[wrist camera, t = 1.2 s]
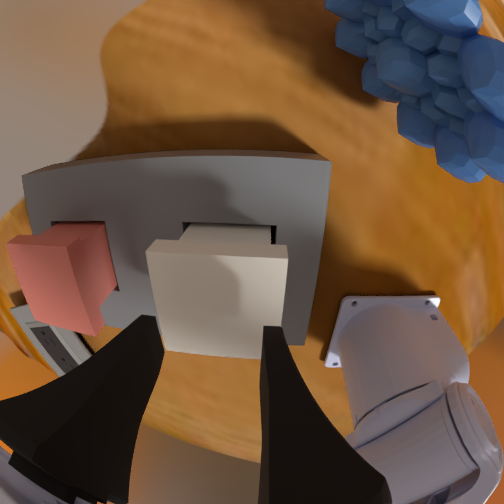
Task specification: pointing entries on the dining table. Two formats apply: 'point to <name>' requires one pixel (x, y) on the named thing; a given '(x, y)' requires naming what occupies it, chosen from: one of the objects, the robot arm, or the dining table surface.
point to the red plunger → (66, 274)
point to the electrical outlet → (52, 341)
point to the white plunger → (218, 288)
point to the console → (190, 213)
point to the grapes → (433, 76)
